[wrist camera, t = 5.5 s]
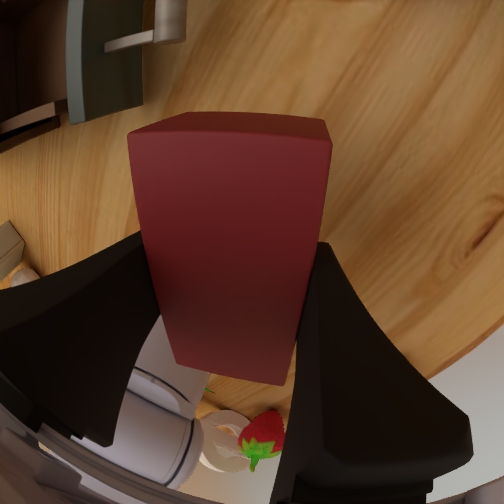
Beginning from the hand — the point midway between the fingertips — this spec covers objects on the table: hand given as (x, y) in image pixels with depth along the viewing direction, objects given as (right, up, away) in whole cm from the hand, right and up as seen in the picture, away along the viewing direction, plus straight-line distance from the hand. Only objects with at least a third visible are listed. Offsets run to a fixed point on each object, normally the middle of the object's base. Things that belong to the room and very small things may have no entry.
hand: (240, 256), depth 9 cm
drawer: (-10, +15, +2) cm, 18 cm away
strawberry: (+3, -22, +25) cm, 34 cm away
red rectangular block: (0, +1, +1) cm, 1 cm away
